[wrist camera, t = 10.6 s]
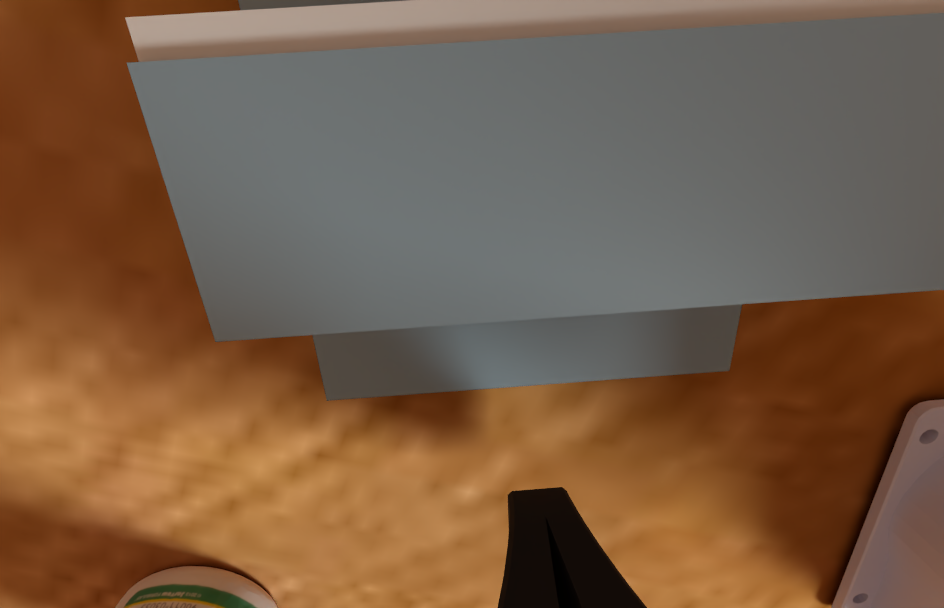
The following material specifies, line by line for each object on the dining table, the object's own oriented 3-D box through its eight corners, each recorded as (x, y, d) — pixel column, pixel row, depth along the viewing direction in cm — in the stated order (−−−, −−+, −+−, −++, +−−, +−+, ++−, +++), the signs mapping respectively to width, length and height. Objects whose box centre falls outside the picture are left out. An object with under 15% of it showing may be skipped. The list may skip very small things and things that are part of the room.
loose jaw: (739, 213, 10) (946, 289, 6) (314, 242, 10) (215, 342, 6) (771, 28, 8) (1071, -45, 4) (277, 59, 8) (111, 13, 4)
